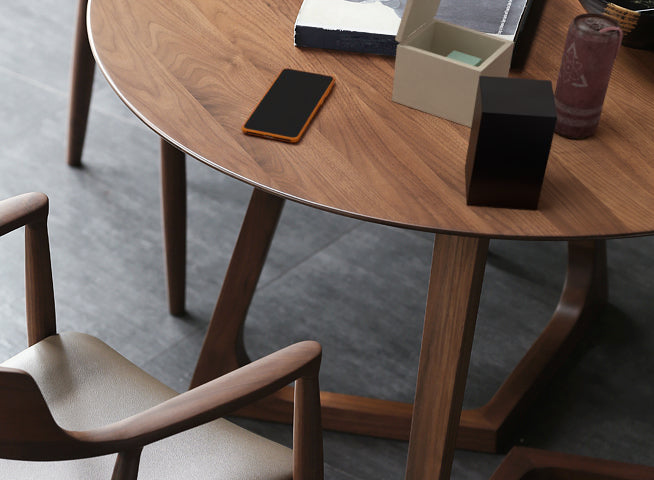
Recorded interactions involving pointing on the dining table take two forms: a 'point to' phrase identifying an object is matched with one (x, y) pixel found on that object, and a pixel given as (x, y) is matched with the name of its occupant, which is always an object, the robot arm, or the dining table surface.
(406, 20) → the lid
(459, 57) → the mint green block
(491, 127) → the stand
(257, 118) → the smartphone
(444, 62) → the beige box
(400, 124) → the dining table surface
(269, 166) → the dining table surface
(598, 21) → the can
